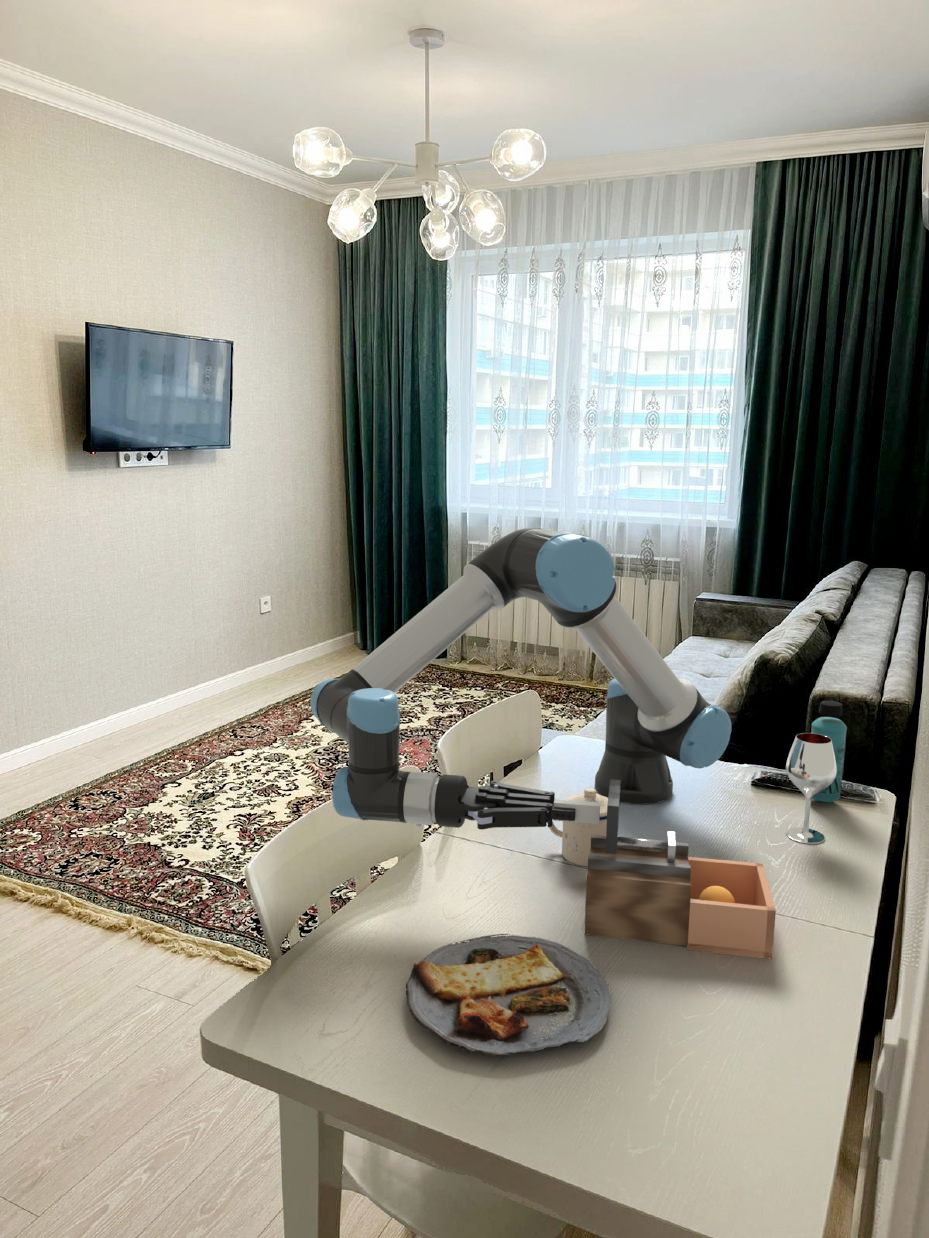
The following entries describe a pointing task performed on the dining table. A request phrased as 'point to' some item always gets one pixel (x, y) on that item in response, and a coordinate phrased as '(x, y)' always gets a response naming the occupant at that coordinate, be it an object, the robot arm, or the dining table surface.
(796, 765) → the wineglass
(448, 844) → the dining table surface
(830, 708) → the beverage bottle
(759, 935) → the cup
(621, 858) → the launcher
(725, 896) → the ball
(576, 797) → the teacup with lid
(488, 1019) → the food plate
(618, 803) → the plunger
